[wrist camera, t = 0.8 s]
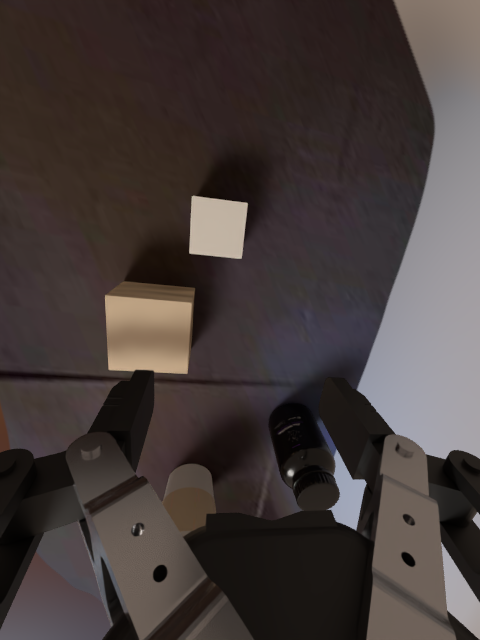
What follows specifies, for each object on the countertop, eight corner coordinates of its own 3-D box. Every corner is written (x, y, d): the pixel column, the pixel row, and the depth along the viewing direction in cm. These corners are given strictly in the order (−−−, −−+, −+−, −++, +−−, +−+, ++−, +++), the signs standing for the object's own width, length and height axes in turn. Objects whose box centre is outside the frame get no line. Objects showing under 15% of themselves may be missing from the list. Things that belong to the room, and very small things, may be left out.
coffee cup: (157, 498, 43) (132, 632, 29) (164, 456, 40) (140, 582, 26) (213, 501, 45) (215, 630, 31) (224, 460, 42) (231, 582, 28)
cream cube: (194, 199, 29) (191, 195, 24) (241, 205, 29) (247, 203, 25) (192, 247, 30) (189, 253, 26) (236, 252, 31) (241, 258, 26)
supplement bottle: (281, 395, 39) (309, 468, 27) (320, 409, 40) (362, 483, 29) (259, 431, 41) (277, 512, 29) (297, 443, 42) (328, 525, 31)
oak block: (124, 280, 31) (105, 295, 25) (195, 287, 32) (191, 302, 26) (125, 344, 34) (108, 369, 28) (191, 348, 35) (187, 373, 29)
